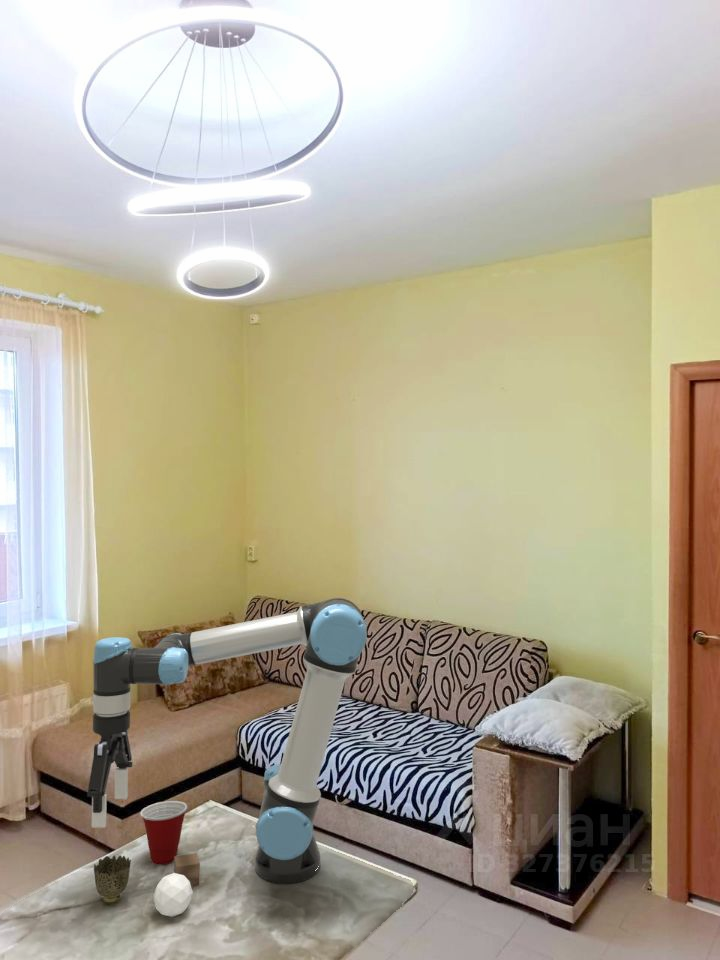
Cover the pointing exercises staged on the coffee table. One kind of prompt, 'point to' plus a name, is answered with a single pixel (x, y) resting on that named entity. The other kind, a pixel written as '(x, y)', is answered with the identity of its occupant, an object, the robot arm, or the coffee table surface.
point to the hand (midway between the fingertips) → (110, 812)
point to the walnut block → (188, 867)
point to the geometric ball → (172, 894)
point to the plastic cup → (163, 829)
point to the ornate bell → (112, 878)
